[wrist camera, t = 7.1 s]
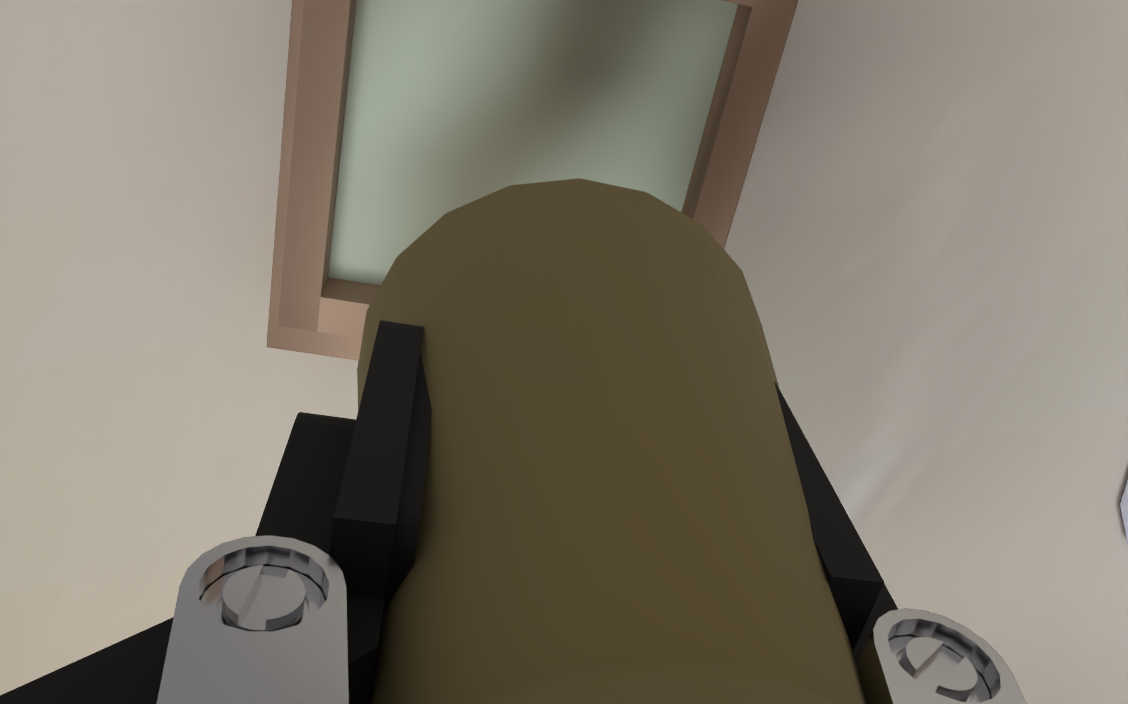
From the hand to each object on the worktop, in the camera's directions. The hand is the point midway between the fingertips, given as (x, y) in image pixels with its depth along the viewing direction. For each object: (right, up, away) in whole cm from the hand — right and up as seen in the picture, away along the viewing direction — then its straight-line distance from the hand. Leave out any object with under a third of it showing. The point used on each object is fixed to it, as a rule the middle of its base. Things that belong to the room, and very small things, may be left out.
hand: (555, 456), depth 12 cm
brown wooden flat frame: (-1, +8, +15) cm, 17 cm away
